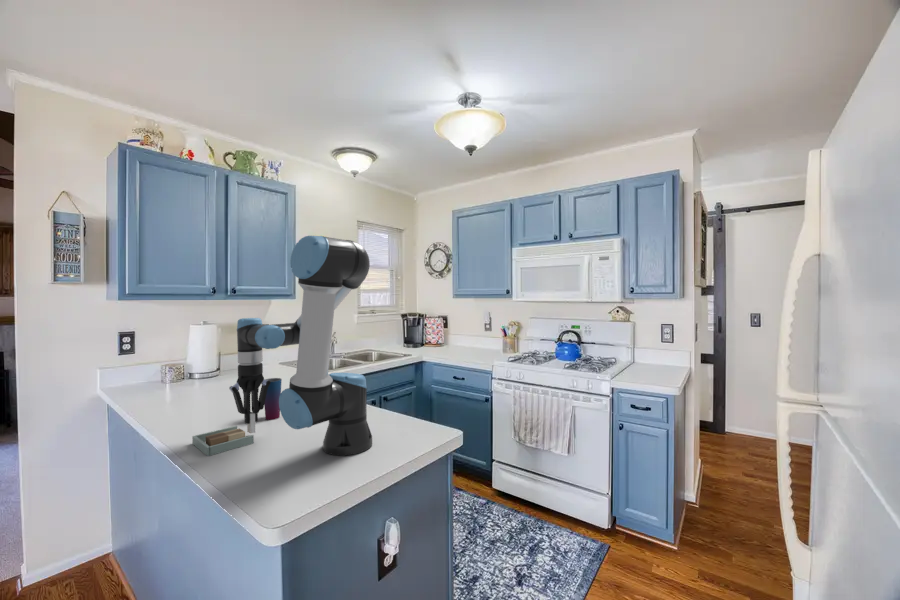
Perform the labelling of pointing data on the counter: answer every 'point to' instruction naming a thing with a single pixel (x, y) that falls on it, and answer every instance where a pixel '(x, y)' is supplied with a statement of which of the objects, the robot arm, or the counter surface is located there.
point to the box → (210, 450)
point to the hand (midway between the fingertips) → (251, 432)
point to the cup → (273, 399)
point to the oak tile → (235, 434)
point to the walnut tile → (216, 439)
